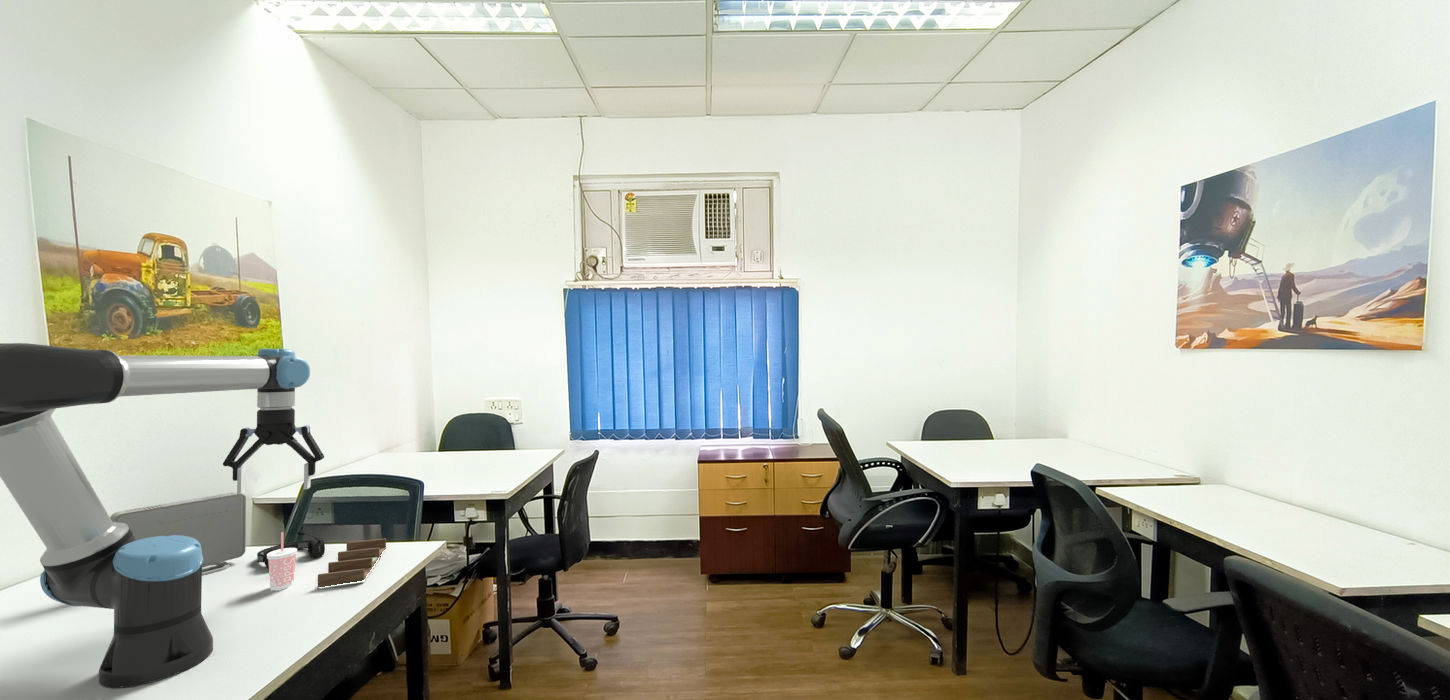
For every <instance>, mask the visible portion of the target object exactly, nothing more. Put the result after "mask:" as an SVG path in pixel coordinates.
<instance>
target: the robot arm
mask: <svg viewBox="0 0 1450 700" xmlns="http://www.w3.org/2000/svg"><path fill="white" fill-rule="evenodd" d="M295 353H296V352H295V351H294V350H293V349H290V348H260V349H259V350H258V352H257V355H118V354H117V353H116V352H114V351H113V350H108V349H86V348H74V347H63V346H54V345H47V344H46V345H45V344H39V343H38V344H37V343H28V342H26V343H24V342H22V343H21V342H20V343H19V342H17V343H16V342H13V343H11V342H10V343H3V342H2V343H0V479H1V480H2V481H3V483H4V485H5V487H6V488H7V489H8V492H9V493H10V494H11V496H12V497H13V498H14V500H15V501H16V504H17V505H18V506H19V508H20V509H21V511H22V512H23V514H24V515H25V517H26V518H27V520H28V522H29V523H30V525H31V526H32V528H33V530H34V531H35V532H36V534H37V536H38V537H39V539H40V540H41V541H42V544H43V545H44V546H45V547H46V550H45V551H44V552H43V554H42V555H41V557H40V559H39V561H40V564H41V566H42V568H43V572H41V573H40V578H39V581H40V587H41V590H42V591H43V593H44V594H45V595H46V596H47V597H48V598H50V599H51V600H53V601H56V602H58V603H61V604H64V605H67V606H73V607H87V608H99V609H110V610H111V609H112V610H113V636H112V638H111V641H110V643H109V646H108V648H107V650H106V652H105V655H104V657H103V660H102V662H101V664H100V666H99V669H98V683H99V685H100V686H102V687H105V688H114V689H115V688H117V689H118V688H128V687H133V686H135V687H136V686H139V685H143V684H149V683H152V682H156V681H159V680H162V679H165V678H168V676H169V677H171V676H174V675H177V674H179V673H181V672H184V671H186V670H189V669H190V668H193V667H194V666H196V665H197V664H199V663H201V662H203V661H204V660H205V659H207V658H208V657H209V656H210V655H211V654H212V652H213V651H214V637H213V635H212V632H211V630H210V629H209V626H208V625H207V623H206V620H205V618H204V617H203V614H202V592H203V591H202V589H203V588H202V586H203V584H202V583H203V582H202V581H203V580H202V579H203V576H202V572H203V567H202V562H203V556H202V550H201V545H200V543H199V542H198V541H197V540H196V539H194V538H191V537H187V536H179V535H172V536H156V537H150V538H145V539H140V540H136V539H135V537H134V535H133V533H132V532H131V530H130V528H129V527H128V525H127V524H125V523H118V522H112V520H111V519H110V517H111V516H110V515H109V514H108V512H107V510H106V508H105V507H104V505H103V503H102V502H101V499H100V498H99V496H98V495H97V493H96V492H95V490H94V488H93V487H92V485H91V483H90V481H89V479H88V478H87V476H86V474H85V473H84V471H83V469H82V468H81V466H80V464H79V462H78V460H77V458H76V457H75V456H74V454H73V452H72V450H71V448H70V446H69V445H68V443H67V442H66V440H65V439H64V437H63V434H62V433H61V431H60V429H59V428H58V426H57V424H56V423H55V421H54V419H53V418H52V414H53V413H54V412H55V411H56V409H62V408H68V407H69V408H70V407H77V406H85V405H95V404H96V405H97V404H108V403H109V404H110V403H112V402H114V401H115V400H116V399H118V398H119V397H136V396H137V397H138V396H154V395H155V396H156V395H157V396H158V395H171V394H175V395H176V394H188V393H189V394H191V393H193V394H194V393H205V392H206V393H207V392H208V393H210V392H222V391H223V392H224V391H225V392H227V391H243V390H246V391H247V390H257V391H256V392H257V397H256V398H257V400H256V407H257V408H258V410H257V411H256V428H250V427H244V428H241V429H240V430H239V431H240V432H239V438H238V439H237V440H236V442H235V443H234V445H233V446H232V448H231V450H230V451H229V453H228V455H227V456H226V458H225V460H224V461H223V463H222V465H223V466H224V467H230V468H231V469H232V481H233V482H234V481H235V482H236V481H237V482H236V484H237V485H236V492H237V495H238V494H244V493H246V487H247V486H246V484H247V481H246V478H247V477H246V475H247V474H246V473H247V466H243V465H244V463H246V462H247V461H248V460H249V459H250V458H251V457H252V456H253V455H254V454H255V453H256V452H257V451H258V450H259V449H260V448H261V447H262V446H264V445H266V446H271V445H277V446H279V445H280V446H281V445H284V444H286V445H287V446H289V447H291V449H292V450H294V452H296V454H298V455H299V456H300V457H301V458H303V460H304V461H306V463H304V464H303V490H309V489H310V488H311V486H312V485H311V483H312V482H311V480H312V479H311V477H312V476H314V475H315V474H316V463H317V462H319V461H322V460H323V459H325V455H324V453H323V452H322V450H321V449H320V447H319V445H318V443H317V442H316V440H315V439H314V437H313V435H312V434H311V429H310V428H311V427H310V425H307V424H306V425H304V426H298V427H297V426H296V425H295V422H296V420H295V419H296V418H295V417H296V416H295V415H296V411H295V409H294V408H293V407H294V406H295V405H296V391H295V390H296V389H297V388H299V387H302V386H304V385H305V383H307V382H308V380H310V379H309V378H310V375H311V368H310V365H309V363H308V362H307V361H306V360H305V359H304V358H302V357H300V356H296V354H295ZM296 433H297V434H299V435H301V437H302V438H303V441H304V442H305V443H306V445H307V446H308V449H309V450H310V451H308V450H307V449H306V448H305V447H304V446H303V445H302V444H301V443H300V442H298V440H297V439H296V438H295V437H294V435H295V434H296ZM253 434H254V435H255V436H256V437H257V438H258V439H257V440H256V441H255V442H254V443H253V444H252V445H251V446H250V447H249V448H248V449H247V450H246V451H245V452H244V453H243V454H241V456H239V454H240V452H241V451H242V449H243V448H244V446H245V444H246V443H247V441H248V440H249V438H250V437H252V436H253ZM310 452H311V453H310ZM312 454H313V455H312ZM238 456H239V457H238ZM237 458H238V459H237ZM236 459H237V460H236Z"/></svg>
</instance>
